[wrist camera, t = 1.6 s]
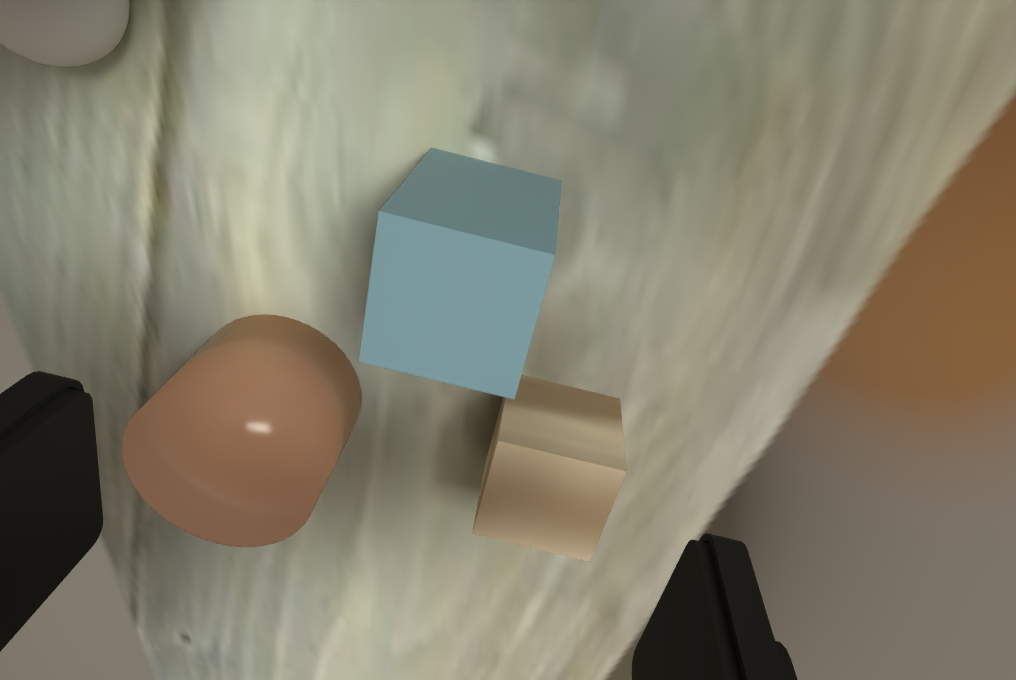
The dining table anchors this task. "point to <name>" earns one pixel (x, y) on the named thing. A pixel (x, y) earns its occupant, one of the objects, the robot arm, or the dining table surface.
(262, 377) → the peach cylinder
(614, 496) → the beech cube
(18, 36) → the grey ball
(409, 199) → the teal block
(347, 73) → the dining table surface
